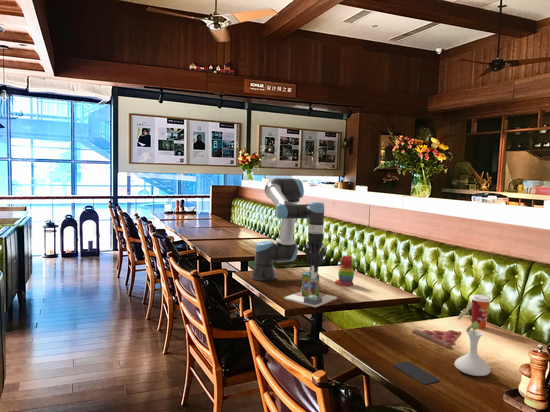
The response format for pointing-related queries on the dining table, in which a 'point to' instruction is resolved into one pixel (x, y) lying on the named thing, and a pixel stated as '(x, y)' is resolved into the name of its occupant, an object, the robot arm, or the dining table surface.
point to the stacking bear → (345, 272)
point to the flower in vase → (472, 351)
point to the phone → (416, 373)
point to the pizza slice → (439, 336)
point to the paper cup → (480, 309)
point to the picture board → (310, 302)
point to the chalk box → (310, 284)
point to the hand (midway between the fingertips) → (313, 278)
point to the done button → (313, 297)
